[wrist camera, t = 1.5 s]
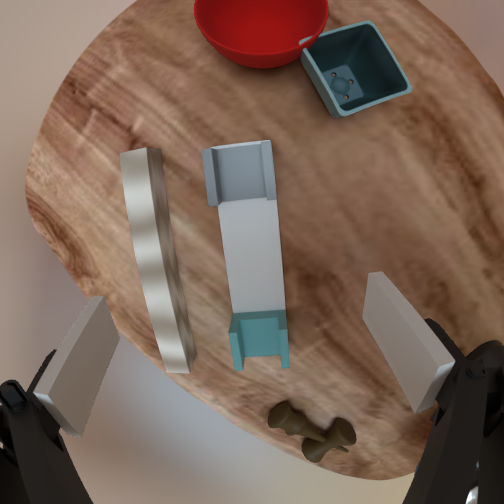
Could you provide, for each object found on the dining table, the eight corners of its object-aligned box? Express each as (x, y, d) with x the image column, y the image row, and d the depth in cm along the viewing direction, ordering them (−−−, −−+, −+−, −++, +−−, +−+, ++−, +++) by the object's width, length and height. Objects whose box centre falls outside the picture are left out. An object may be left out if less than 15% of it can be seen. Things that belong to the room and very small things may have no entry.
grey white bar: (197, 353, 43) (189, 373, 38) (175, 352, 43) (166, 372, 38) (161, 149, 34) (146, 147, 30) (137, 154, 35) (119, 153, 30)
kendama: (296, 386, 44) (365, 429, 47) (257, 413, 47) (328, 450, 49) (297, 412, 39) (370, 451, 41) (254, 437, 41) (330, 472, 44)
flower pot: (290, 68, 30) (296, 40, 22) (351, 47, 29) (371, 18, 20) (324, 129, 32) (341, 118, 24) (383, 105, 31) (414, 91, 22)
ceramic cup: (278, -26, 25) (280, -68, 16) (331, 67, 30) (351, 37, 20) (189, 2, 27) (168, -35, 18) (232, 98, 32) (219, 75, 22)
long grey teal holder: (287, 344, 41) (289, 370, 35) (240, 347, 42) (235, 373, 36) (270, 140, 33) (270, 135, 27) (212, 147, 34) (200, 144, 28)
